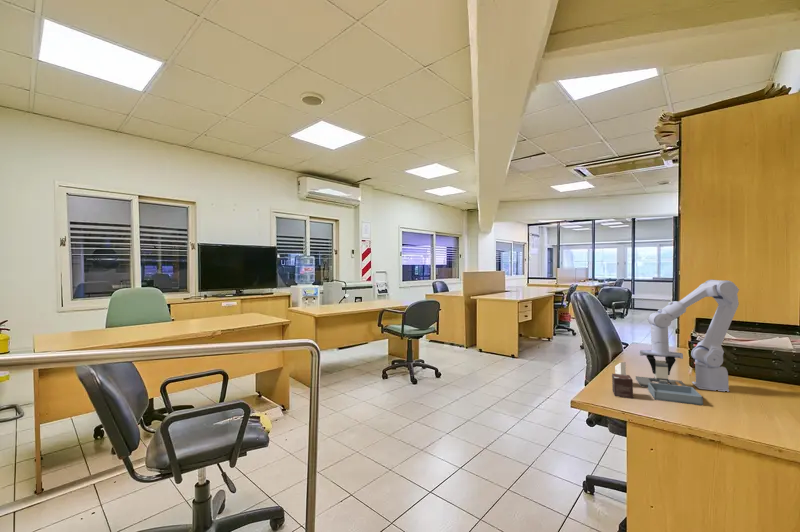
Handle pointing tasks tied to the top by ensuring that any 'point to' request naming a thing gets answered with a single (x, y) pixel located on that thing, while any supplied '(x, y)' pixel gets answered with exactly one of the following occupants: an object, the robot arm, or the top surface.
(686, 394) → the tray
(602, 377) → the top surface
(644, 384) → the frame
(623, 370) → the white wedge bracket
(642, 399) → the top surface
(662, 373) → the tan rectangular block
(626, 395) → the box
